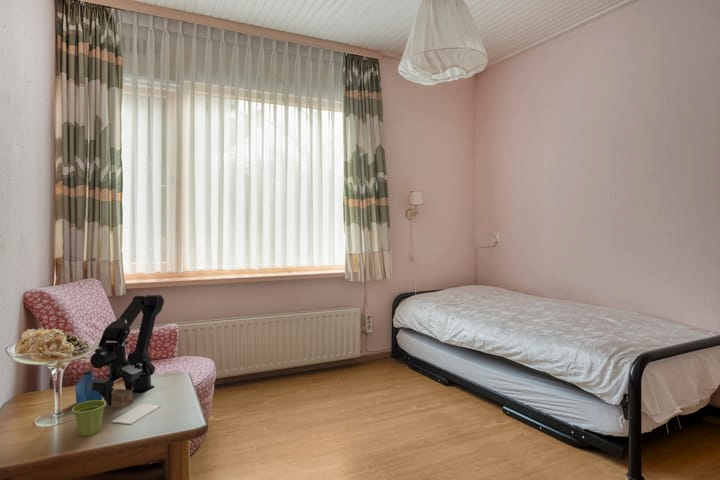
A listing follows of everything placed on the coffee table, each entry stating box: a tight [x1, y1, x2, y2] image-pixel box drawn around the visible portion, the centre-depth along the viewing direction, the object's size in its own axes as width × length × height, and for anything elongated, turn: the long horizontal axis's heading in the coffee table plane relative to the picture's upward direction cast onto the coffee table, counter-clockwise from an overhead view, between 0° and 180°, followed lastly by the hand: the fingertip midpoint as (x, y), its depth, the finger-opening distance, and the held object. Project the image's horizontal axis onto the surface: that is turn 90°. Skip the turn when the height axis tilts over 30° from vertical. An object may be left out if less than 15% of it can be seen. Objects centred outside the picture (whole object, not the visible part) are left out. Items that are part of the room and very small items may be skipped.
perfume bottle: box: [75, 368, 103, 405], centre depth 167 cm, size 6×6×12 cm
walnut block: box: [105, 388, 134, 409], centre depth 164 cm, size 4×8×5 cm, turn 70°
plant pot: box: [71, 399, 106, 436], centre depth 143 cm, size 9×9×9 cm
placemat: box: [111, 403, 161, 426], centre depth 155 cm, size 14×8×1 cm, turn 165°
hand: (119, 400), depth 164 cm, fingers open, 9 cm apart
